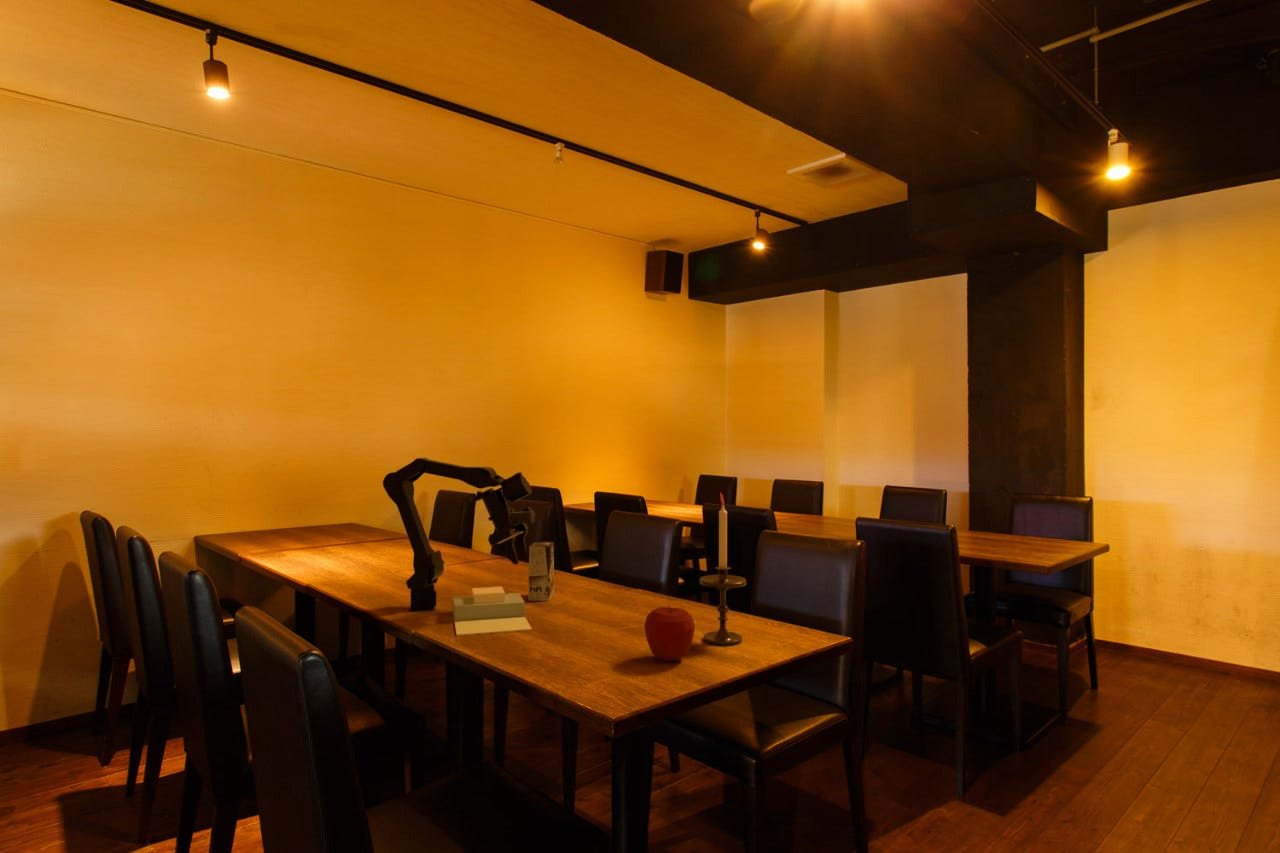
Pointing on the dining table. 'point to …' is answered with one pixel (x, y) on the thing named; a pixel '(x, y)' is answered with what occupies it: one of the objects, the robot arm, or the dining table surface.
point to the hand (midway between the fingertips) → (521, 561)
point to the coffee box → (541, 571)
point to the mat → (492, 626)
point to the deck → (488, 608)
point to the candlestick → (722, 587)
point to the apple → (669, 632)
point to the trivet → (488, 595)
